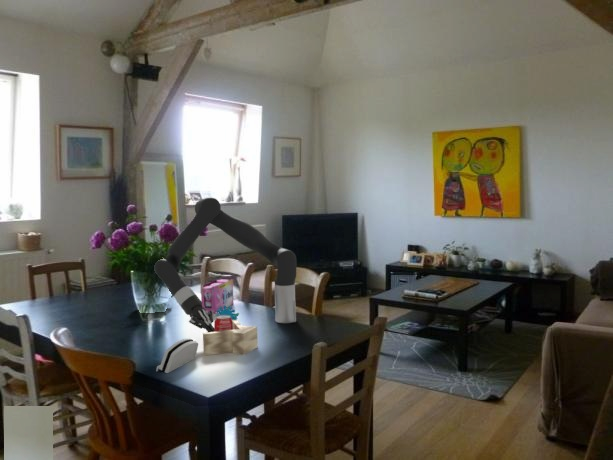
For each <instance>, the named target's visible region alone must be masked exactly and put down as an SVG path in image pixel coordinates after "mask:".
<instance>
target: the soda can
mask: <svg viewBox="0 0 613 460" xmlns="http://www.w3.org/2000/svg"><path fill="white" fill-rule="evenodd" d="M213 322H214V324H213V325H214V326H213V327H214V332H216V331H225V330H233V323H232V319H231V316H230V315H220V314H219V315H218V316H215V319H214V321H213Z"/></svg>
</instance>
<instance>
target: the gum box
mask: <svg viewBox="0 0 613 460" xmlns="http://www.w3.org/2000/svg"><path fill="white" fill-rule="evenodd" d="M200 286H201V287H200V288H201V289H200V291H201V292H200V293H201V294H200V296H201V297H200V298H201V299H200V300H201V302H202V307H203V308H205V310H206V311H208V312H209V311H212V314H217V312H216V311H217V310H218V309H219V307H222V310H224V308H223V307H224V306H227V307H226V308H228V307H229V306H230V307H231V305H234V278H229V277H228V278H225V277H220V278H216V279H214V280H212V281H210V282H207V283H205V284H202V285H200ZM219 310H220V309H219ZM220 312H221V310H220Z"/></svg>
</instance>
